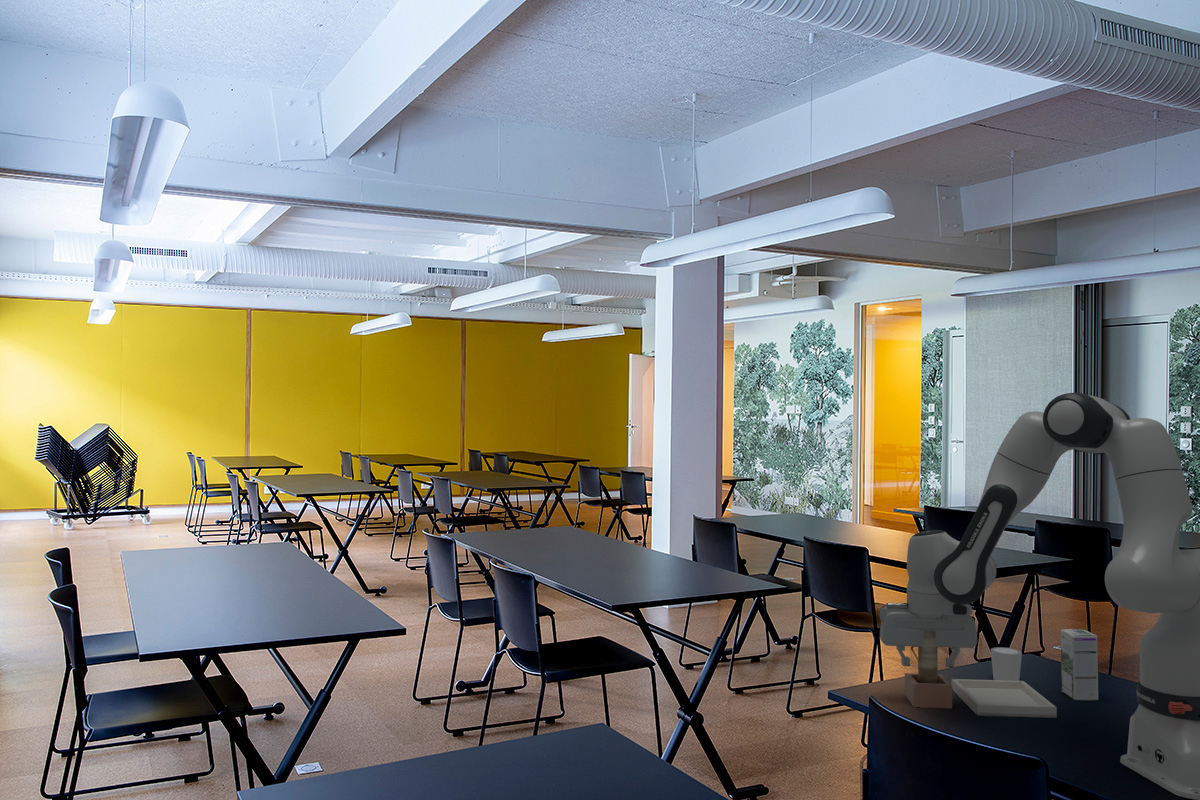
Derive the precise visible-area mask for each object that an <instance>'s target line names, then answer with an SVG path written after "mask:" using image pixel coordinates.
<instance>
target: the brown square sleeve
mask: <svg viewBox="0 0 1200 800" xmlns="http://www.w3.org/2000/svg"><path fill="white" fill-rule="evenodd" d="M905 696H906V697H905ZM904 697H905V698H906V699H907V701H908V702H909V701H910V702H909V703H910V704H911V706H912V707H913V706H914V707H913V708H916V707H920V708H921V709H923V708H925V709H926V708H927V709H949V710H950V709H953V690H952V683H951V682H949V680H947V678H946V677H944V675H943V674H940V673H938V684H937V683H918V673H913V672H912V673H909V672H905V673H904Z"/></svg>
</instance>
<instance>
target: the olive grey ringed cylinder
mask: <svg viewBox="0 0 1200 800" xmlns="http://www.w3.org/2000/svg"><path fill="white" fill-rule="evenodd" d="M935 641H936V631H924V646H923V647H917V654H918V655H917V656H918V657H917V664H918V665H917V669H918V670H917V672H918V673H917V674H918V683H937V684H938V674H939V673H938V668H939V665H938V662H939V661H938V655H939V654H938V649H939V647H936V644H935Z"/></svg>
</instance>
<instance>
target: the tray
mask: <svg viewBox="0 0 1200 800" xmlns="http://www.w3.org/2000/svg"><path fill="white" fill-rule="evenodd" d="M951 685H952V692H954V693H955V694H956V695H957V696H958V697H959V698H960V699H961V700H962V701H963V702H964V703H965V704H966V705H967V706H968V707H969V708H970V710H972V712H973V713H974V714H975V715H976V716H978V717H979V716H980V717H981V716H983V717H1010V718H1013V717H1014V718H1015V717H1016V718H1022V717H1023V718H1041V719H1042V718H1048V719H1051V718H1052V719H1057V714H1058V710H1057V709H1058V708H1057V706H1056V705H1054V703H1052V702H1050V700H1048V699H1046V698H1045V697H1044V696H1043V695H1042V694H1041V693H1039V692H1038V691H1037V690H1035V688H1034V687H1032V686H1031V685H1030V684H1028V683H1026V682H1025V680H1019V681H1005V680H994V679H967V678H965V679H963V678H962V679H961V678H951Z"/></svg>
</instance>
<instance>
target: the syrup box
mask: <svg viewBox="0 0 1200 800" xmlns="http://www.w3.org/2000/svg"><path fill="white" fill-rule="evenodd" d="M1098 649H1099V648H1098V635H1097V634H1095V633H1092V632H1090V631H1088V630H1086V629H1084V628H1083V629H1082V628H1081V629H1080V628H1064V629H1060V658H1061V659H1060V666H1061V670H1060V671H1061V673H1060V674H1061V677H1060V678H1061V679H1060V680H1061V693H1063V694H1065V696H1067V697H1069V698H1070V699H1072V700H1074V701H1099V669H1098V668H1099V663H1098V662H1099V658H1098V657H1099V656H1098V654H1099V652H1098V651H1099V650H1098Z"/></svg>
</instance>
